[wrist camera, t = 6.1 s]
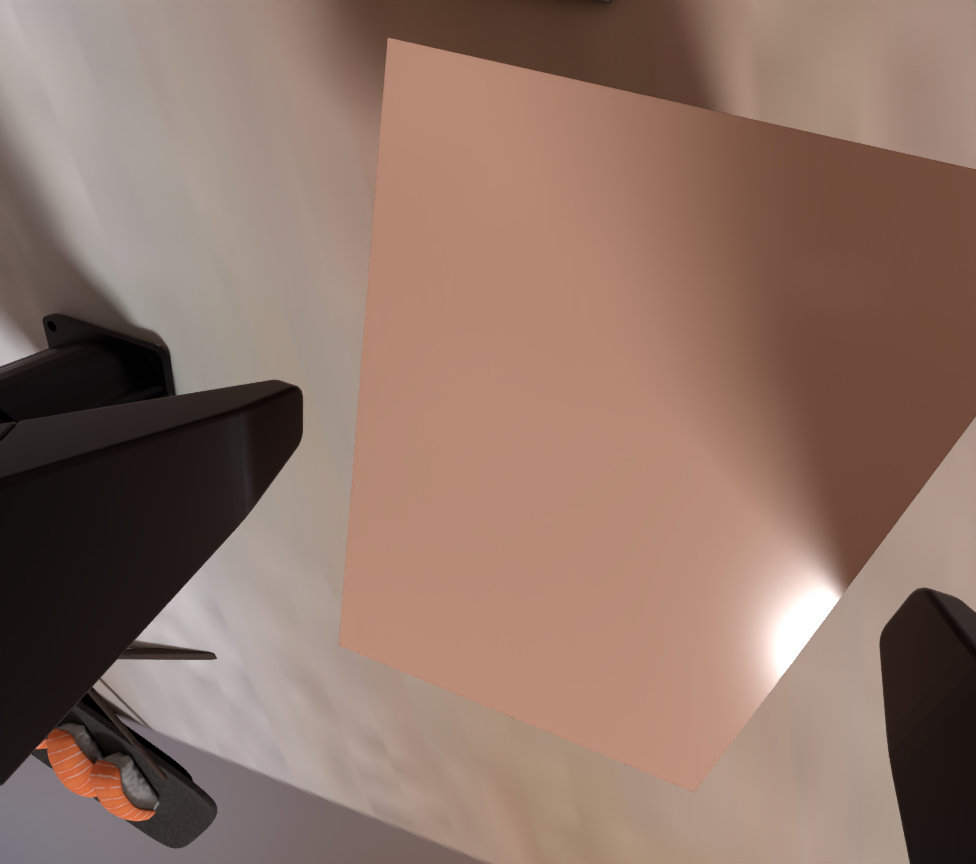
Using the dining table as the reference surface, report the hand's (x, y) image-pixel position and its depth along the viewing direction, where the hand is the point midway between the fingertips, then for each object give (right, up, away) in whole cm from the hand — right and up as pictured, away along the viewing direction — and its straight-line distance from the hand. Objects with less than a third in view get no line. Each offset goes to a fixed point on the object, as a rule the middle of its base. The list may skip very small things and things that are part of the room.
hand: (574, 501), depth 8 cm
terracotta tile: (+1, +1, +2) cm, 2 cm away
